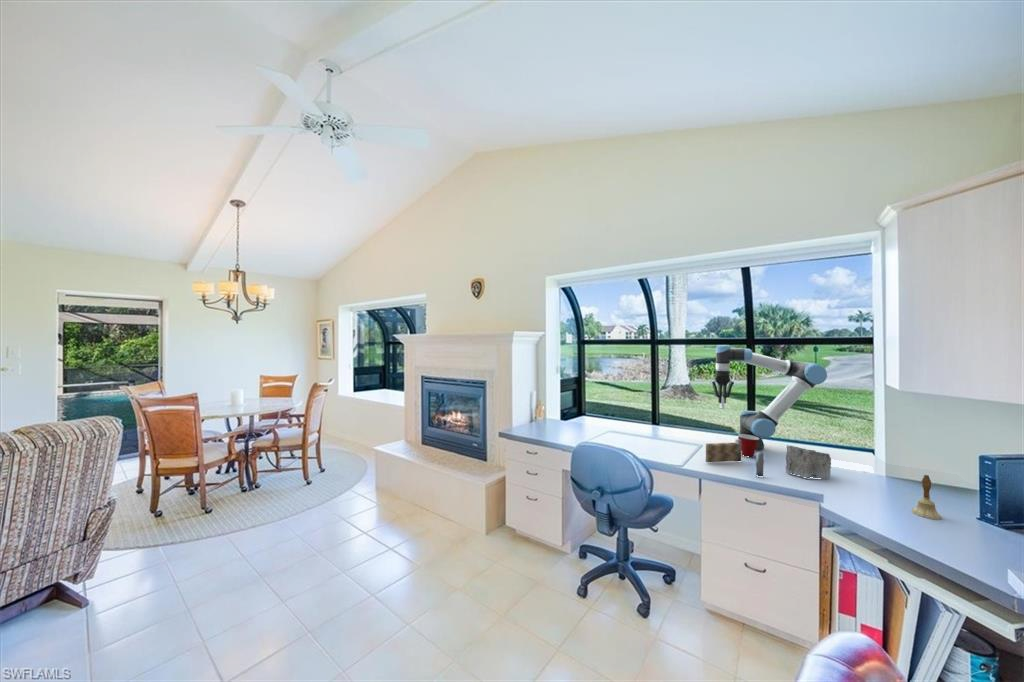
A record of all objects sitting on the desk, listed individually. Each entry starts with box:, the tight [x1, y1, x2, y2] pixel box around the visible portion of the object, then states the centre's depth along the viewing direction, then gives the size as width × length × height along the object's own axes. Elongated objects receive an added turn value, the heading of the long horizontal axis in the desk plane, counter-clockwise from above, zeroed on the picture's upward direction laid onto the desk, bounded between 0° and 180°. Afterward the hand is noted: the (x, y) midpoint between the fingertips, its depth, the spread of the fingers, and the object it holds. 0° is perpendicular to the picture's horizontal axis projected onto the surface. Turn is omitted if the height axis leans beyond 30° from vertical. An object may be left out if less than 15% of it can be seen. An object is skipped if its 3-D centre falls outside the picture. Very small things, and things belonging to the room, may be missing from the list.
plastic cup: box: [738, 433, 759, 458], centre depth 228 cm, size 11×11×12 cm
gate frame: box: [734, 438, 765, 477], centre depth 208 cm, size 27×17×12 cm, turn 172°
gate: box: [705, 441, 739, 463], centre depth 215 cm, size 20×1×10 cm, turn 98°
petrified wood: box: [785, 444, 832, 480], centre depth 198 cm, size 19×17×15 cm
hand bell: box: [911, 474, 942, 521], centre depth 154 cm, size 8×8×16 cm
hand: (722, 408), depth 237 cm, fingers closed
